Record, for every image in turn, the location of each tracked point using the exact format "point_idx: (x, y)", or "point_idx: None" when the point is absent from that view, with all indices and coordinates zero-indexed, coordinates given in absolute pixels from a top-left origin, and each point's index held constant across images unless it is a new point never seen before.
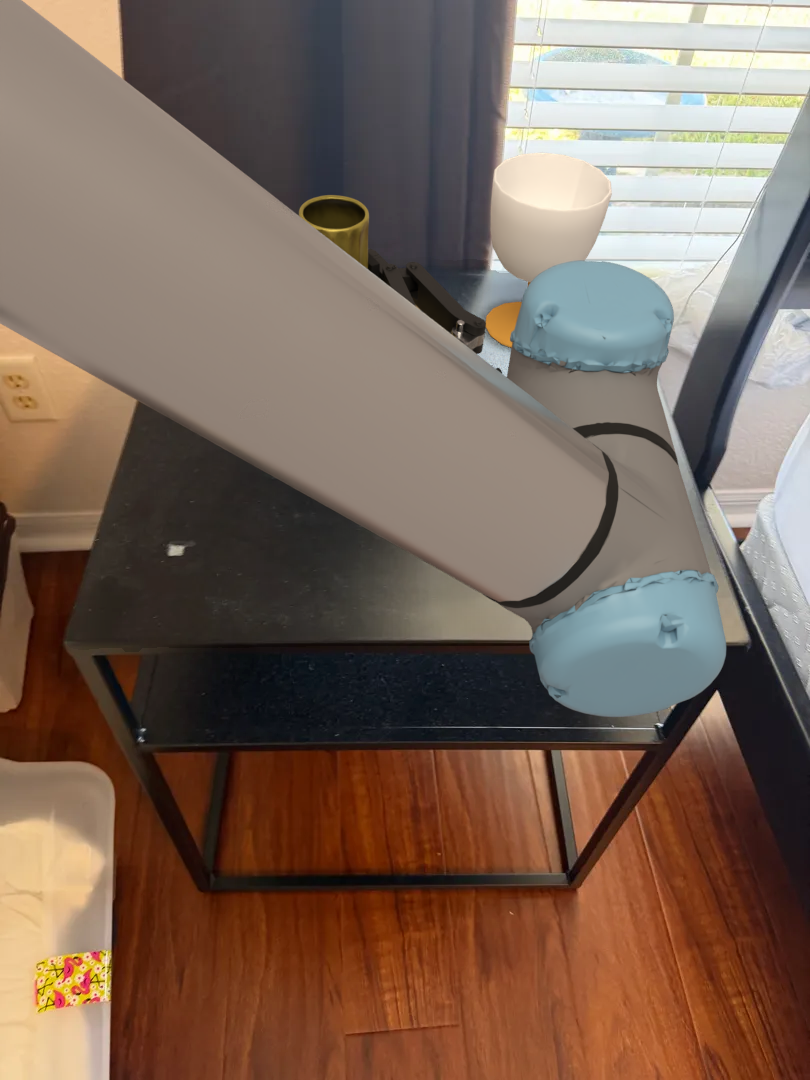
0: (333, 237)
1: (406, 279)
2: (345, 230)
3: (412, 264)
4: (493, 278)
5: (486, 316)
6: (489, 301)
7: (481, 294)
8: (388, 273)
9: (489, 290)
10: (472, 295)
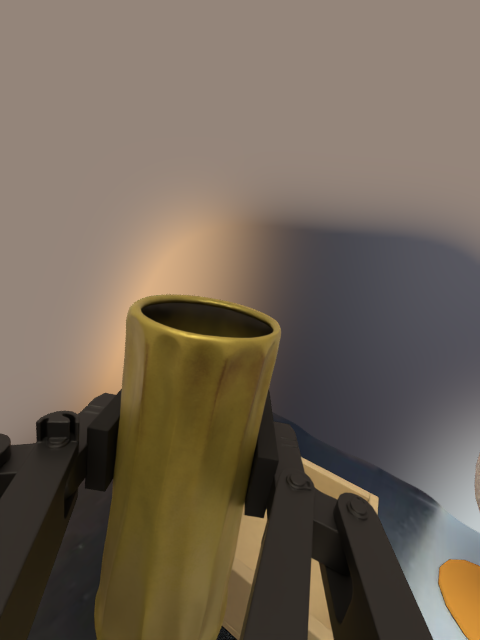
0: (147, 341)
1: (327, 535)
2: (180, 335)
3: (355, 505)
4: (448, 516)
5: (440, 567)
6: (443, 545)
7: (433, 530)
8: (283, 497)
9: (443, 529)
10: (422, 525)
